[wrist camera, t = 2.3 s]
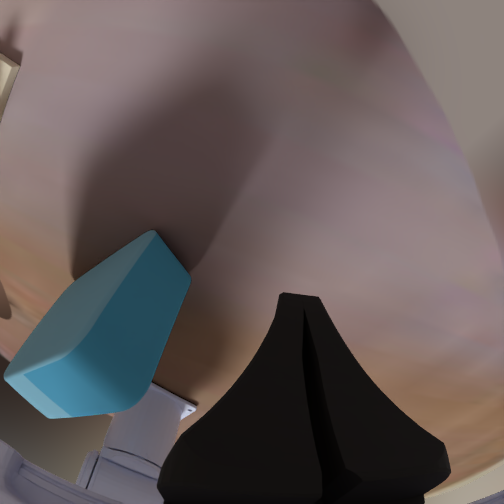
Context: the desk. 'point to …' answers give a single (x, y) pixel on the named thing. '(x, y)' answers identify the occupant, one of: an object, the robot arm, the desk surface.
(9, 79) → the bookend
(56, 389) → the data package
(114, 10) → the desk surface
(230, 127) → the desk surface
